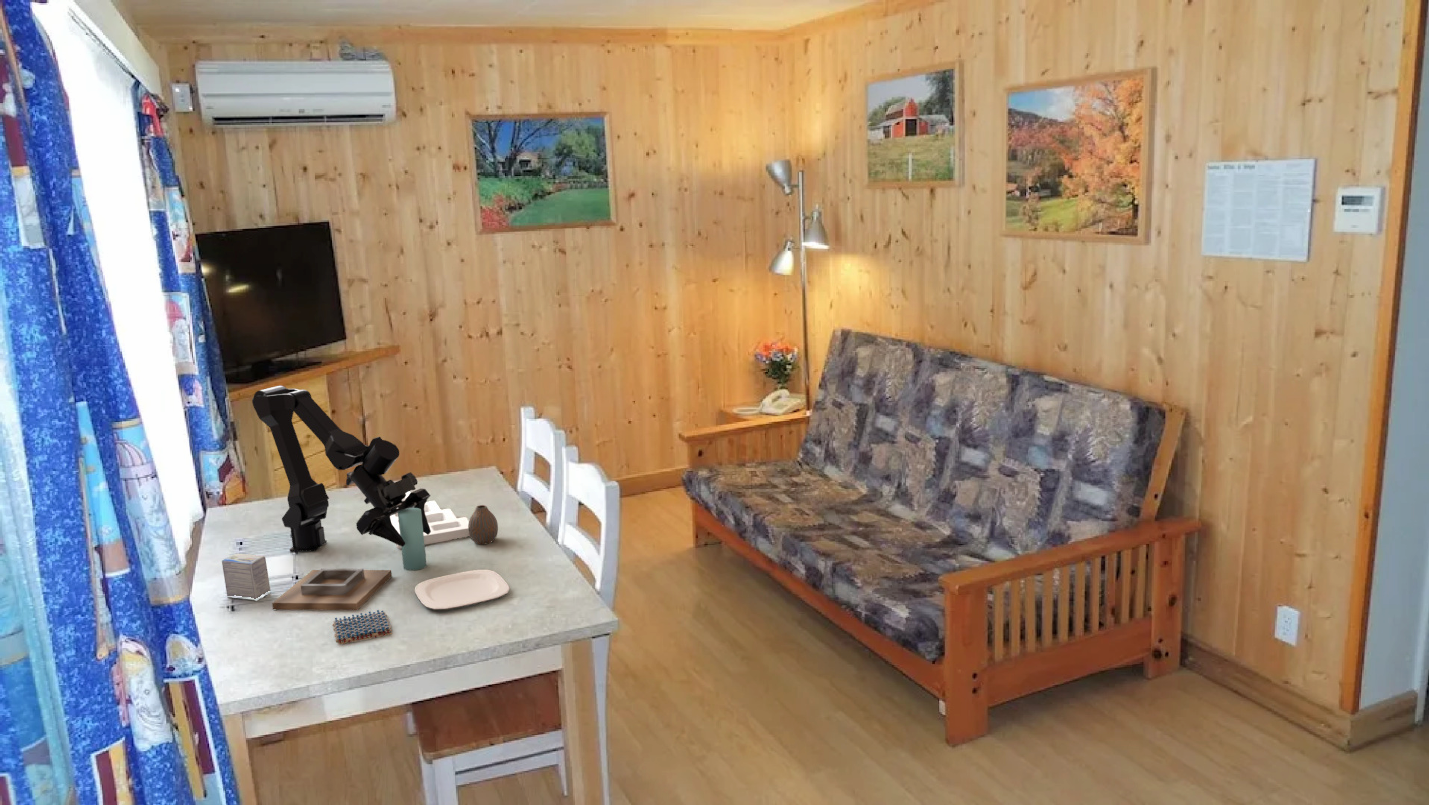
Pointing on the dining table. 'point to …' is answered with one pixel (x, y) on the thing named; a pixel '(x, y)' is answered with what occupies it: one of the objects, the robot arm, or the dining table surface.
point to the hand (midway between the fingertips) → (417, 539)
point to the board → (333, 589)
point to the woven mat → (361, 627)
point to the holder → (438, 524)
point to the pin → (412, 538)
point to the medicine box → (246, 575)
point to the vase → (482, 525)
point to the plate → (461, 589)
